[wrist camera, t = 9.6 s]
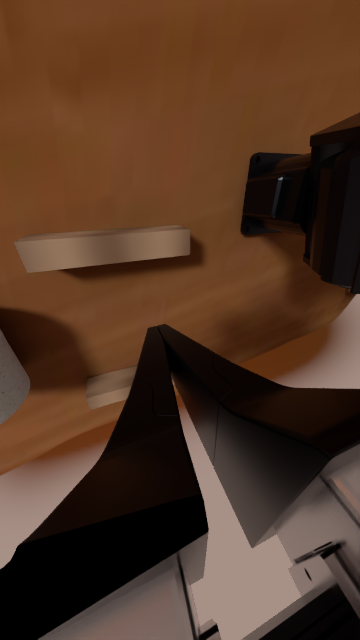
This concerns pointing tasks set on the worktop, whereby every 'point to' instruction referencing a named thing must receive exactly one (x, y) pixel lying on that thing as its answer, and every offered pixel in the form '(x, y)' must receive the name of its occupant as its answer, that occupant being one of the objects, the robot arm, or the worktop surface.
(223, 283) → the worktop surface
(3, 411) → the ceramic mug
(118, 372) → the mug dock
